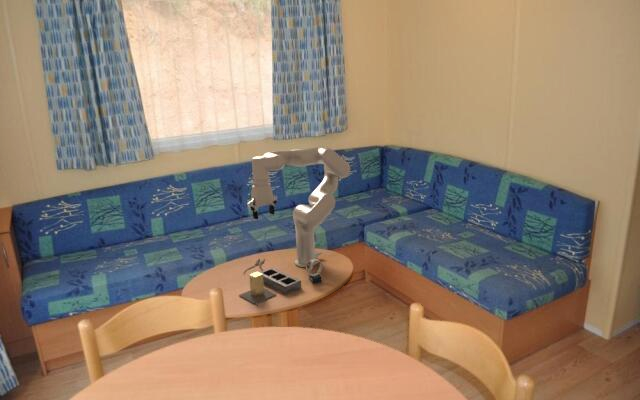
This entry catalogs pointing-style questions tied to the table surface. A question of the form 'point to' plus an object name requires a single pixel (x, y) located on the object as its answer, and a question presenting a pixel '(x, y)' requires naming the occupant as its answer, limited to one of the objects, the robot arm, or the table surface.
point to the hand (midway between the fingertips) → (264, 216)
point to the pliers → (257, 264)
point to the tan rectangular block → (256, 284)
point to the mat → (257, 300)
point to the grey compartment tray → (280, 281)
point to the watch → (315, 276)
